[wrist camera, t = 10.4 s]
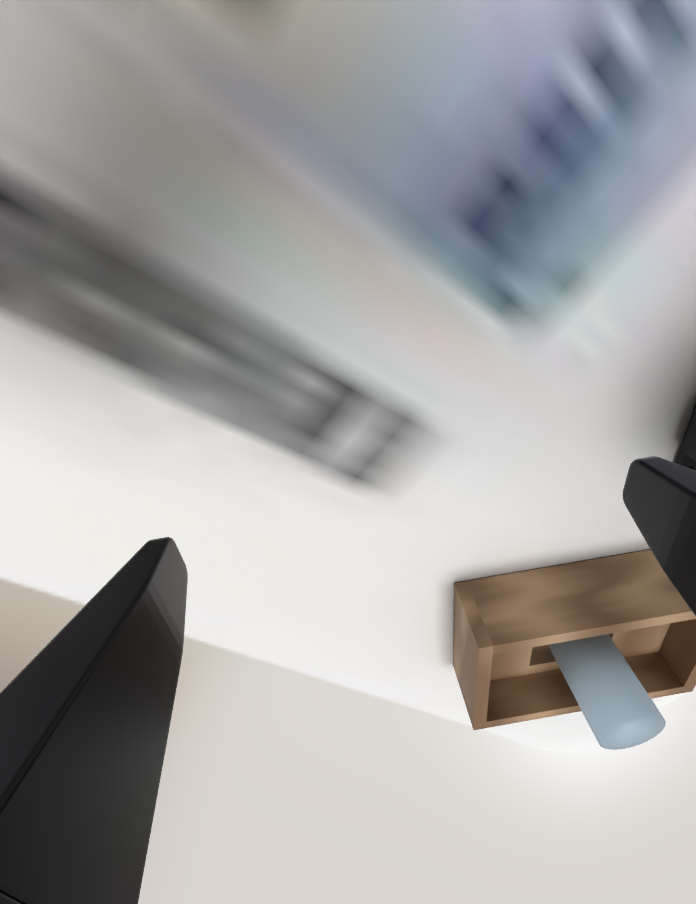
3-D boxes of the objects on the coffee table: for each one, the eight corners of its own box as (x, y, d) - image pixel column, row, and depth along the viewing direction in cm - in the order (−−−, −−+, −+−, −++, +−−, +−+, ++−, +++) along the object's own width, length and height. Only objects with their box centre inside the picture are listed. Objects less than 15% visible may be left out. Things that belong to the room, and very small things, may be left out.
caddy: (682, 543, 29) (740, 602, 26) (648, 631, 34) (692, 691, 31) (453, 582, 29) (478, 648, 25) (453, 665, 34) (473, 730, 30)
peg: (589, 587, 31) (673, 709, 24) (581, 620, 33) (656, 742, 26) (536, 596, 31) (605, 722, 24) (530, 629, 33) (593, 754, 26)
